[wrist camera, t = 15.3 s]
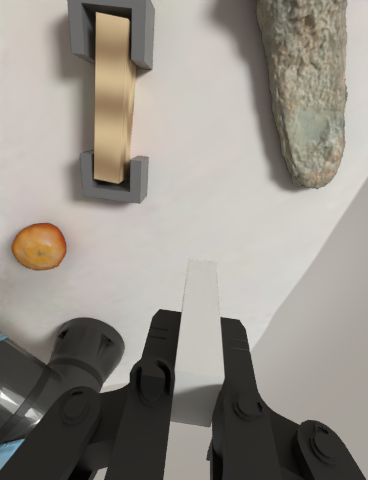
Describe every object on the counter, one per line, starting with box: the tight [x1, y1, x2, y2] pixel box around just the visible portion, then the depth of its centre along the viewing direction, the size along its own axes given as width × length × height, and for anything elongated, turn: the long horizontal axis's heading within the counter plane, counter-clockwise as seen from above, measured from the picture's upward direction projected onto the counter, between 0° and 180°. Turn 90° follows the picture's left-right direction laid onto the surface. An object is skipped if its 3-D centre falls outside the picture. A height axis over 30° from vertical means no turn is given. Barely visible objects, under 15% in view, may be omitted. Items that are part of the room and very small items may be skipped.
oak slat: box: [94, 12, 137, 184], centre depth 32 cm, size 18×4×5 cm, turn 170°
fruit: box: [12, 223, 66, 270], centre depth 41 cm, size 8×8×8 cm
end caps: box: [67, 0, 155, 204], centre depth 32 cm, size 23×8×4 cm, turn 174°
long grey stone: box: [256, 0, 348, 189], centre depth 28 cm, size 35×5×10 cm
